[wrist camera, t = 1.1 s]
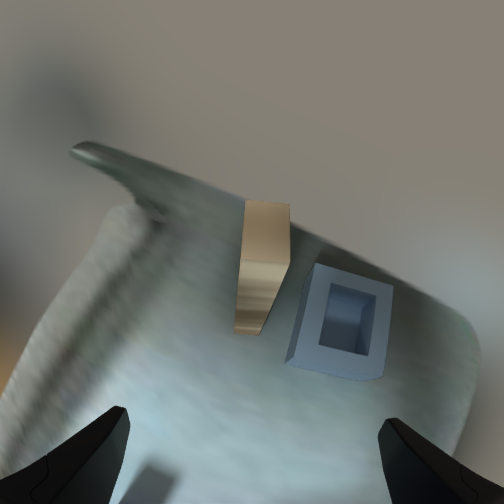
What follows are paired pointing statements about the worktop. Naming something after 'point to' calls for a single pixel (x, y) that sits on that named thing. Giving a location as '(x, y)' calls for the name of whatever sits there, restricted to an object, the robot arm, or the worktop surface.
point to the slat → (261, 263)
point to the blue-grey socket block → (342, 325)
